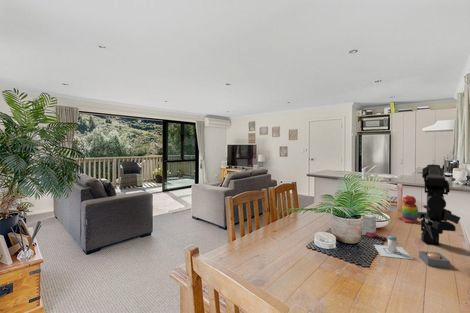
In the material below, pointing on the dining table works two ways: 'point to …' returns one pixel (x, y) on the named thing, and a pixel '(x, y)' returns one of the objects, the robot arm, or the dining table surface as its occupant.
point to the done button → (433, 255)
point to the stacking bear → (409, 210)
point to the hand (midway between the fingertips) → (434, 239)
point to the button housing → (434, 260)
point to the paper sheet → (399, 254)
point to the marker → (392, 244)
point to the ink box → (369, 225)
